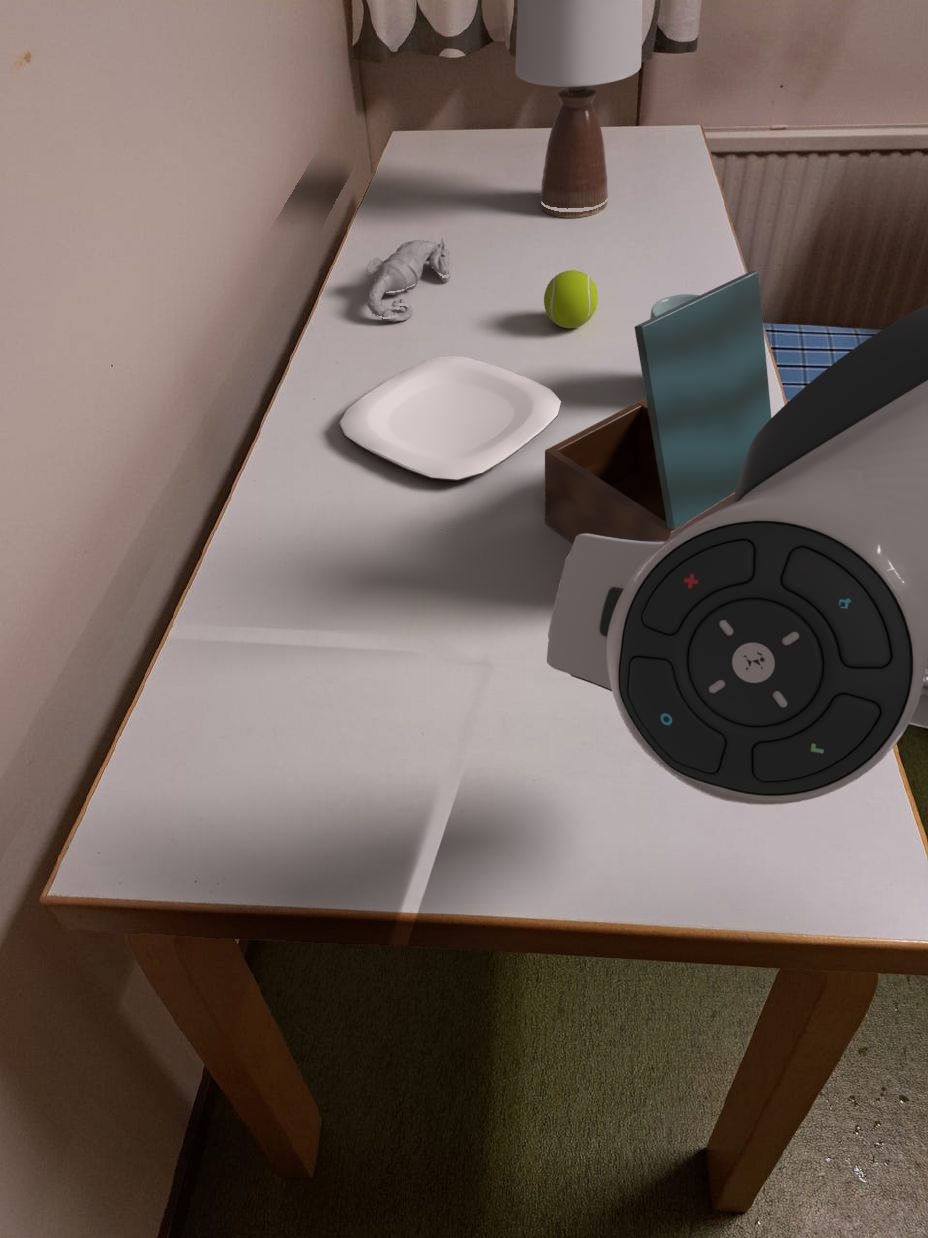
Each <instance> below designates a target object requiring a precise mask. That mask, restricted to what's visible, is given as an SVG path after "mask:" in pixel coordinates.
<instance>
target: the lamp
mask: <svg viewBox="0 0 928 1238" xmlns="http://www.w3.org/2000/svg"><path fill="white" fill-rule="evenodd" d="M516 14H517V15H516V41H515V67H514V69H515V71H514V73H515V76H516V77H517V78H518V79H519V80H522V81H524V82H527V83H530V84H533V85H539V86H545V87H557V88H558V87H559V88H560V87H561V88H560V89H559V90H557V93H556V97H557V99H558V100H559V103H560V106H559V108H558V110H557V113H556V115H555V119H554V121H553V124H552V127H551V130H550V134H549V137H548V142H547V146H546V152H545V157H544V167H543V172H542V179H541V192H540V198H539V200H540V199H541V201H542V202H543V203H544V204H545V205H548V206H550V207H557V208H567V209H568V208H584V207H594V206H596V205H599V204H601V203H603V202H605V200H606V199H607V198H608V199H609V190H608V174H607V163H606V149H605V143H604V137H603V132H602V128H601V124H600V120H599V117H598V115H597V111H596V109H595V106H594V104H593V103H594V100H595V98H596V96H597V95H598V94H597V93H598V90H597V88H595V87H594V86H597V85H604V84H609V83H613V82H618V81H622V80H624V79H626V78H630V77H632V76H633V75H635V74H637V73H638V72H639V71H640V69H641V68H642V53H643V51H642V50H643V49H642V47H643V46H642V45H643V0H517V13H516ZM539 205H540V207H541V209H542V211H543V212H545V213H546V214H548V215H550V216H554V217H558V218H566V219H573V218H574V219H575V218H585V217H590V216H593V215H596V214H598V213H600V212H602V211H603V210H604V209H606V207H607V206H608V201H607V202H606V203H605V204H604V205H602V206H601V207H598V208H596V209H593V210H589V211H583V212H559V211H554V210H551V209H548V208H546V207H544V206H543V205H542V204H541V202H540V201H539Z"/></svg>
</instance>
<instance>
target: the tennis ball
mask: <svg viewBox="0 0 928 1238" xmlns="http://www.w3.org/2000/svg"><path fill="white" fill-rule="evenodd" d="M598 303H599V294H598V288H597V285H596V283H595V282H594V280H593V279H592V277H590V276H589V275H588V274H586V273H584V272H582V271H580V270H574V269H572V270H565V271H561V272H559V273H558V274H556V275H555V276H554V277H552V278H551V280H549V283H548V284H547V286H546V288H545V291H544V295H543V306H544V310H545V312H546V315H547V317H548V318H549V320H551V321H552V322H553V323H554V324H555V325H556V326H559V327H561V328H563V329H564V328H565V329H575V328H579V327H581V326H583V325H585V324H586V323H587V322H589V321H590V320H591V319H592V317H593V316H594V314H595V312H596V310H597V308H598Z"/></svg>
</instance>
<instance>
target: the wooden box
mask: <svg viewBox="0 0 928 1238" xmlns="http://www.w3.org/2000/svg"><path fill="white" fill-rule="evenodd" d="M735 493H736V491H735V492H734V493H732V494H731V495H729V496H727V497H726V498H724V499H723V500H721V501H719V502H718V503H716V504H714V505H713V506H711V507H710V508H708V509H706V510H705V511H703V512H702V513H700V514H698V515H697V516H695V517H693V518H692V519H690V520H689V521H687V522H685V523H684V524H682V525H680V526H679V527H677V528H676V529H671V528H668V527H667V521H666V515H665V509H664V503H663V497H662V491H661V485H660V479H659V473H658V466H657V460H656V454H655V448H654V442H653V436H652V430H651V424H650V418H649V412H648V406H647V400H645V399H640V400H638V401H636V402H634V403H633V404H631V405H629V406H627V407H625V408H623V409H621V410H619V411H617V412H615V413H613V414H612V415H609V416H608V417H606V418H603V419H602V420H600V421H598V422H596V423H594V424H593V425H591V426H588V427H587V428H585V429H583V430H581V431H579V432H577V433H575V434H573V435H571V436H569V437H568V438H566V439H564V440H562V441H560V442H558V443H556V444H554V445H552V446H551V447H548V448H546V449H545V450H544V524H545V525H547V526H548V527H549V528H551V529H552V530H553V531H555V532H556V533H557V534H559V535H560V536H561V537H563V538H564V539H565V540H567V541H569V543H571V544H572V545H573V543H574V541H575V538H576V536H578V535H580V534H585V533H587V534H593V535H599V536H603V535H611V536H618V537H626V538H634V539H644V540H658V541H667V540H668V539H670V538H671V537H673V536H674V535H675V534H677V533H678V532H680V531H682V530H683V529H685V528H686V527H688V526H690V525H692V524H694V523H695V522H697V521H699V520H701V519H703V518H705V517H707V516H709V515H711V514H713V513H715V512H717V511H719V510H721V509H723V508H726V507H728V506H730V505H732V504H734V499H735Z"/></svg>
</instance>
